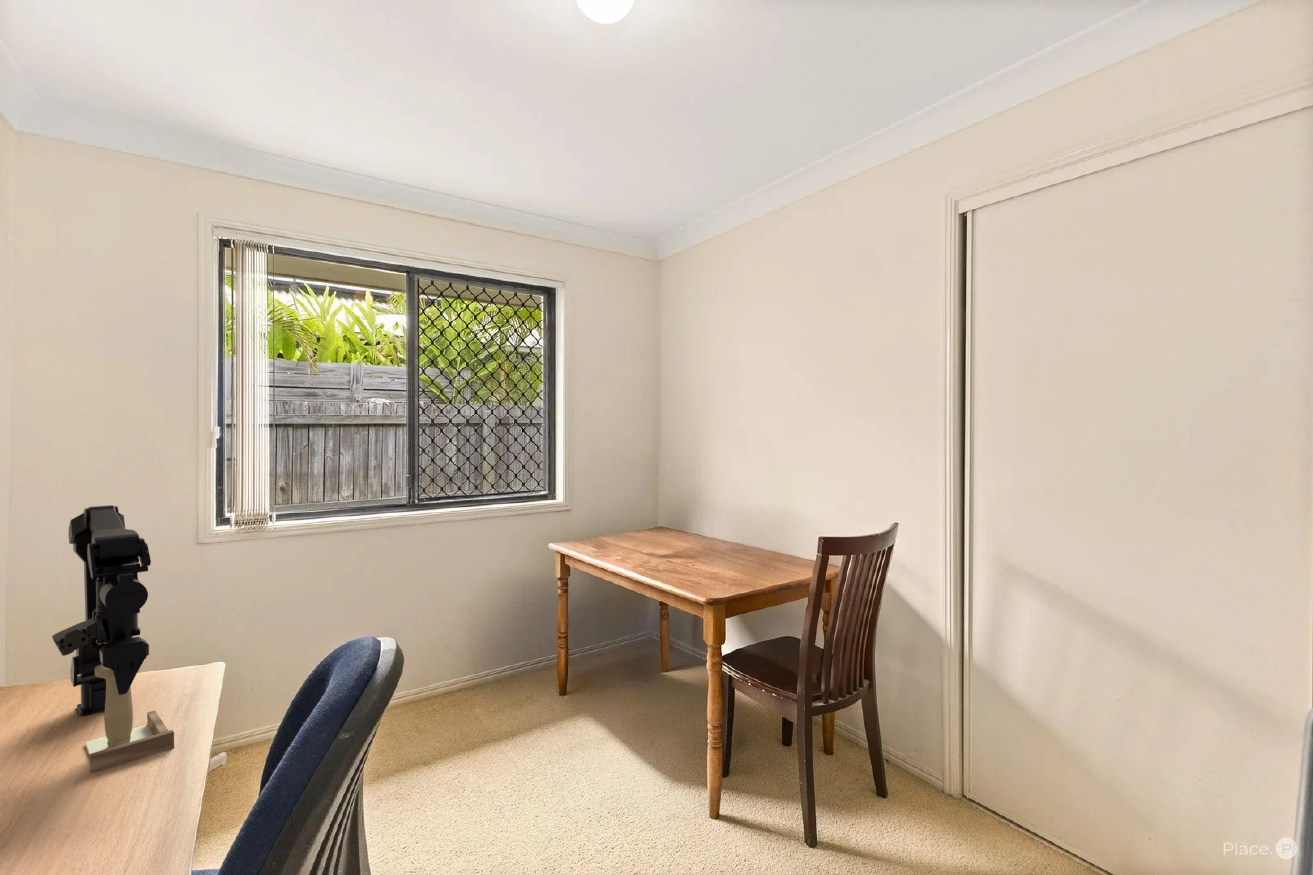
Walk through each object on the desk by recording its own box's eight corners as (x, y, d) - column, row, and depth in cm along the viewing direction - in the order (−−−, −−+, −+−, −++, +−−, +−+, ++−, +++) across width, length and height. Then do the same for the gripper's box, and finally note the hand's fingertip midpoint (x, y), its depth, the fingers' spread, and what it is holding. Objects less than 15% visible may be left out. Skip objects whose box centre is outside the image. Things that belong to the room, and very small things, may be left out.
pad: (85, 745, 114) (85, 741, 114) (147, 727, 121) (147, 724, 121) (94, 769, 106) (94, 766, 106) (160, 749, 113) (160, 745, 113)
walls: (81, 746, 114) (80, 730, 114) (159, 724, 122) (158, 709, 122) (90, 773, 105) (90, 756, 105) (174, 747, 114) (174, 731, 114)
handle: (97, 744, 113) (96, 664, 113) (142, 734, 117) (141, 656, 117) (94, 755, 110) (93, 672, 109) (141, 744, 113) (140, 663, 113)
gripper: (50, 601, 113) (52, 685, 113) (61, 624, 101) (63, 718, 101) (129, 589, 121) (130, 668, 122) (149, 609, 109) (150, 696, 109)
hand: (118, 686), depth 113 cm, fingers open, 9 cm apart
